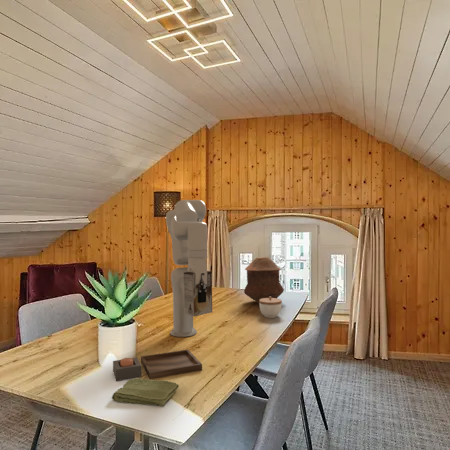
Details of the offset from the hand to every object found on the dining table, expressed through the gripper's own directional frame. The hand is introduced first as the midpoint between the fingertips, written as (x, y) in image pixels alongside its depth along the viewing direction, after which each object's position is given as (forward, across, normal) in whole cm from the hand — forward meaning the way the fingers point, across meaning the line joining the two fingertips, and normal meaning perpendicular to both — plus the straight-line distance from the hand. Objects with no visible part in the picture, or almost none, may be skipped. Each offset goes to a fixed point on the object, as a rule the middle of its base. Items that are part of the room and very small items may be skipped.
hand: (198, 299), depth 143 cm
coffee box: (+5, 0, 0) cm, 5 cm away
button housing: (+24, 0, -27) cm, 36 cm away
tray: (+24, 0, -11) cm, 26 cm away
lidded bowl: (+24, -45, +60) cm, 79 cm away
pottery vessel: (+24, -74, +73) cm, 107 cm away
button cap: (+22, 0, -27) cm, 35 cm away
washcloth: (+24, +19, -25) cm, 39 cm away
